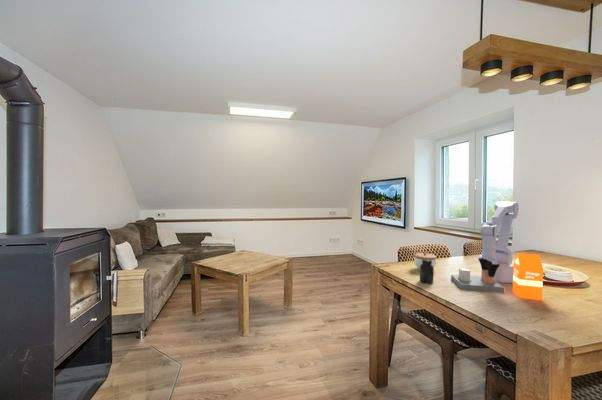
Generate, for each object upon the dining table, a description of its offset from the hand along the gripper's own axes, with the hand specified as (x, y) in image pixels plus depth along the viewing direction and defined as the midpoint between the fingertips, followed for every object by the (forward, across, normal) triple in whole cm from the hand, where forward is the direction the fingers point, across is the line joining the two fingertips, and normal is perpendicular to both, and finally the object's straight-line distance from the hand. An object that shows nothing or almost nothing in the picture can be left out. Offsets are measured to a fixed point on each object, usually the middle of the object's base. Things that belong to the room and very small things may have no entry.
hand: (488, 274), depth 142 cm
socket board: (+6, 0, -6) cm, 8 cm away
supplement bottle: (+6, 0, -30) cm, 30 cm away
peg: (+6, 0, 0) cm, 6 cm away
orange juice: (+6, +10, +12) cm, 17 cm away
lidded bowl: (+6, -24, -26) cm, 36 cm away
